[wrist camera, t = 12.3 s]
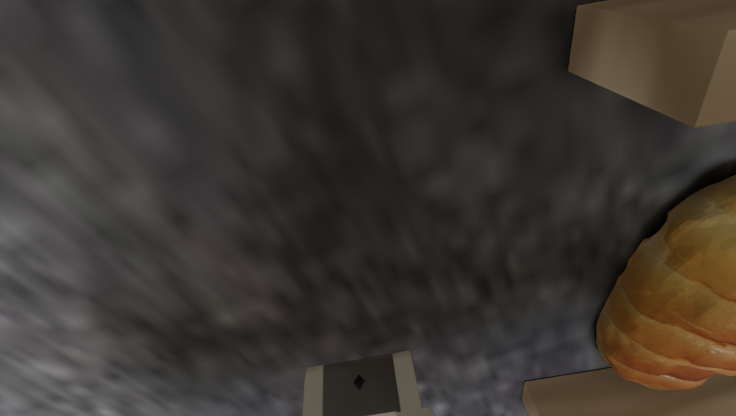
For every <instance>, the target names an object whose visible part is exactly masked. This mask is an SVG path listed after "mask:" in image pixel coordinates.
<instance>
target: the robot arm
mask: <svg viewBox="0 0 736 416" xmlns="http://www.w3.org/2000/svg"><path fill="white" fill-rule="evenodd" d="M392 355H393V356H392ZM303 416H434V414H433V413H432V412H431V411H430V410H429V409H428V408H427V407H426V408H422V406H421V401H420V396H419V392H418V387H417V382H416V377H415V372H414V367H413V362H412V357H411V353H410V351H409V350H408V351H403V352H397V353H393V354H392V353H389V354H383V355H378V356H372V357H367V358H362V359H358V360H352V361H346V362H339V363H333V364H327V365H319V366H313V367H307V369H306V373H305V385H304V400H303Z"/></svg>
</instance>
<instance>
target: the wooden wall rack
mask: <svg viewBox="0 0 736 416" xmlns="http://www.w3.org/2000/svg"><path fill="white" fill-rule="evenodd" d="M568 71H569V72H571V73H573V74H575V75H577V76H580V77H582V78H584V79H586V80H589V81H591V82H593V83H595V84H597V85H600V86H602V87H604V88H606V89H609V90H611V91H613V92H615V93H617V94H620V95H622V96H624V97H626V98H628V99H631V100H633V101H635V102H637V103H640V104H642V105H644V106H646V107H648V108H651V109H653V110H655V111H657V112H660V113H662V114H664V115H666V116H668V117H671V118H673V119H675V120H677V121H680V122H682V123H684V124H686V125H688V126H691V127H693V128H697V127H703V126H709V125H715V124H721V123H727V122H732V121H736V0H606V1H600V2H595V3H589V4H584V5H578V6H577V10H576V17H575V24H574V32H573V39H572V46H571V53H570V60H569V67H568ZM522 401H523V403H524V405H525V408H526V410H527V412H528V415H529V416H736V375H735V376H726V375H722V374H717V375H713V376H711V377H710V378H708V379H707V380H706V381H705V382H704V383H703V384H702V385H700V386H697V387H694V388H691V389H683V390H658V389H651V388H649V387H646V386H644V385H642V384H639V383H636V382H633V381H629V380H626V379H623V378H622V377H620V376H619V375H618V374H617V373H616V372H615V371H614V369H613V368H607V369H601V370H595V371H589V372H583V373H576V374H570V375H564V376H558V377H552V378H545V379H539V380H533V381H527V382H524V388H523V395H522Z"/></svg>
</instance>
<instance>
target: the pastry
mask: <svg viewBox="0 0 736 416" xmlns="http://www.w3.org/2000/svg"><path fill="white" fill-rule="evenodd" d="M596 329H597V338H596V344H597V347H598V349H599V351H600V354H601V356H602V358H603V359H604V361H605V362H607V363H608V364H609V365H610V366H611V367H612V368H613V369H614V371H615V372H616V373H617V374H618V375H619V376H620V377H622V378H623V379H626V380H629V381H633V382H636V383H639V384H642V385H644V386H646V387H649V388H651V389H658V390H683V389H691V388H694V387H697V386H700V385H702V384H703V383H704V382H705V381H706V380H707V379H708V378H710V377H711V376H713V375H717V374H722V375H726V376H735V375H736V175H734V176H731V177H729V178H727V179H725V180H723V181H721V182H718V183H715V184H712V185H709V186H706V187H704V188H702V189H700V190H698V191H696V192H694V193H693V194H691V195H690V196H688V197H687V198H686V199H685V200H684V201H682V202H681V203H680V204H678V205H677V206H675V207H674V208H673V209H671V210H670V211H668V218H667V221H666V222H665V224H664V225H663V227H662V228H661V229H660V230H659V231H658V232H657V233H656V234H655V235H653V236H652V237H650V238H645V239H644V240H643V241H642V242H641V244H640V245H639V247H638V248H637V250H636V251H635V253H634V254H633V255H632V256H631V257H630V258H629V260H628V263H627V267H626V269H625V271H624V272H623V273H622V274H621V275H620V276H619V277H618V279H617V282H616V284H615V286H614V288H613V290H612V292H611V294H610V296H609V297H608V299H607V301H606V303H605V305H604V307H603V309H602V311H601V313H600V316H599V318H598V321H597V324H596Z"/></svg>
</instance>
